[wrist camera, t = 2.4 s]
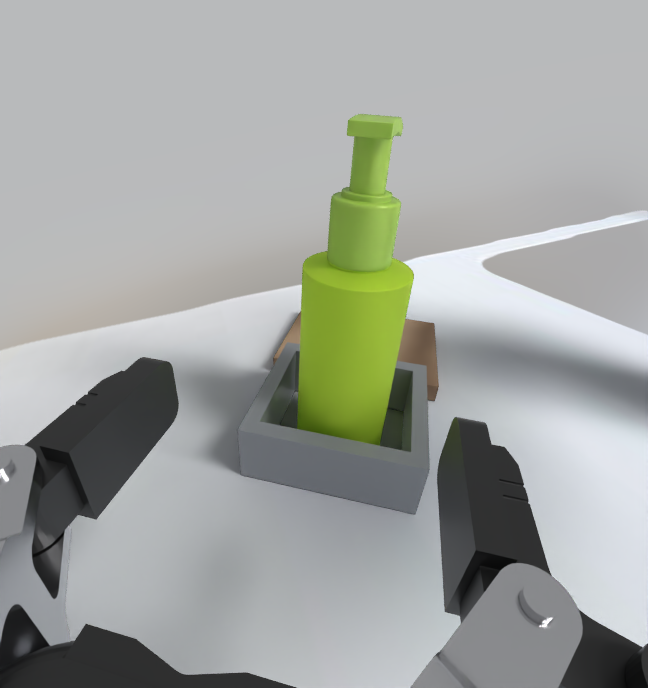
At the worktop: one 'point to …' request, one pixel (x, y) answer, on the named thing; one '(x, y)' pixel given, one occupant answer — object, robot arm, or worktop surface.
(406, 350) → the board
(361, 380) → the soap dispenser
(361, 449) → the tray
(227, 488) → the worktop surface
